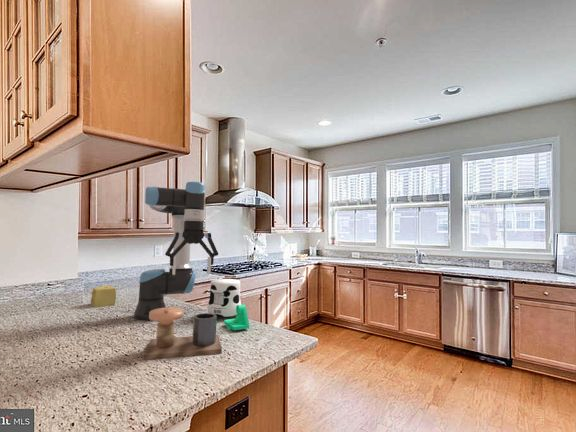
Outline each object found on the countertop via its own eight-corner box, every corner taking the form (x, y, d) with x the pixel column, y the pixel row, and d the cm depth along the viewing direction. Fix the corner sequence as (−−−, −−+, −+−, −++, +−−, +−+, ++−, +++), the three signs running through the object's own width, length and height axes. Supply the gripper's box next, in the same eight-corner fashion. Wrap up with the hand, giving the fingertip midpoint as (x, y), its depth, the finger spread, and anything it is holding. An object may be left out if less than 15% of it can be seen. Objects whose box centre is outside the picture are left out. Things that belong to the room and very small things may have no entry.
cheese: (90, 304, 178) (91, 286, 179) (111, 301, 186) (112, 285, 186) (94, 308, 171) (95, 289, 171) (115, 305, 178) (116, 287, 178)
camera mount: (223, 325, 147) (224, 303, 147) (238, 323, 151) (239, 302, 152) (233, 333, 137) (234, 309, 137) (249, 330, 141) (249, 307, 141)
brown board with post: (144, 359, 106) (145, 331, 107) (150, 343, 122) (151, 318, 122) (221, 353, 114) (222, 326, 114) (218, 338, 129) (219, 315, 130)
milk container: (235, 310, 174) (237, 278, 175) (245, 318, 159) (246, 283, 160) (204, 313, 167) (205, 279, 168) (210, 322, 151) (212, 284, 152)
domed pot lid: (146, 329, 109) (147, 314, 109) (150, 319, 120) (151, 305, 120) (182, 327, 112) (183, 312, 112) (183, 318, 124) (184, 304, 124)
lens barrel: (187, 343, 119) (189, 316, 119) (204, 337, 126) (206, 312, 126) (203, 348, 114) (204, 320, 114) (219, 341, 121) (220, 315, 121)
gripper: (161, 218, 116) (158, 276, 115) (227, 221, 127) (225, 273, 126) (159, 219, 123) (157, 273, 122) (222, 221, 134) (220, 271, 133)
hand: (191, 273), depth 124 cm, fingers open, 13 cm apart
